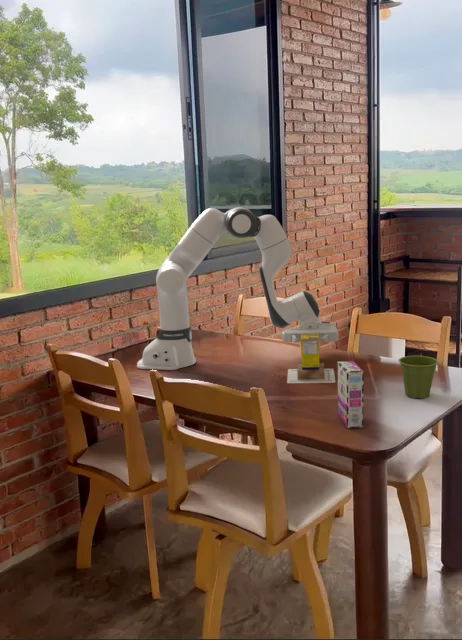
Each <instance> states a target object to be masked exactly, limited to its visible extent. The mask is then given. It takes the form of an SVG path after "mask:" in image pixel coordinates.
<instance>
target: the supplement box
mask: <svg viewBox="0 0 462 640" xmlns="http://www.w3.org/2000/svg"><path fill="white" fill-rule="evenodd" d="M300 343H301V344H300V346H301V364H302V369H319V363H320V342H319V338H318V334H313V335H301V342H300Z"/></svg>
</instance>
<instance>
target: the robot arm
mask: <svg viewBox="0 0 462 640" xmlns="http://www.w3.org/2000/svg"><path fill="white" fill-rule="evenodd" d="M227 233H229V234H230V235H231V236H232V237H234V238H236V239H246V238H247V239H248V238H254V240H255V242H256V244H257V245H258V248H259V250H260V252H261V257H262V258H261V262H260V264H259V266H258V269H259V271H258V272H259V275H260V281H261V286H262V289H263V292H264V298H265V301H266V305H267V311H268V317H269V320H270V322H271V324H272V325H273V326H274V327H276V328H278V329H284V328H285V329H284V330H282V332H281V341H282V342H283V343H294V344H299V343H301V335H313V334H318V338H319V343H320V342H321V343H326V342H338V341H339V330H338V327H336V326H334V322H333V321H332V322H330V321H321V318H320V317H319V316H320V308H319V306H318V305H319V304H318V303H317V300H316V299H315V297H314V295H313V294H311V293H310V292H307V291H305V290H303V291H300V292H297V293H296V294H294V295H293V294H292V296H289V297H287V298H285V299H282V300H278V298H277V295H276V290H275V288H274V287H275V285H274V282H273V280H274V277H275V276H276V274H277V273H278V272H279V271H280V270H281V269H282V268H284V266H285V265H286V264H287V263H288V262H289V260H290V258H291V255H292V246H291V244H290V241H289V238H288V236H287V234H286V232H285V230H284V228H283V227H282V225H281V223H280V221H279V220H278V219H277V217H276V216H275V215H273V214H263V215H261V216H257V215H256V214H254V213H253V212H252V211H251V210H250V209H248V208H247V207H244V206H235V207H232V208H230V209H228V210H226V211H224V212H222V211H220V210H219V209H217V208H215V207H209V208H206V209H205V210H204V211H202V213H201V214H200V215H198V216H197V218H196V219H195V220H194V221H193V222H192V223H191V225H190V226H189V228H188V229H187V230H186V232H185V233H184V235H182V237H181V239H180V240H179V241H178V243H177V244H176V245H175V247H174V248H173V249H172V250H171V252H170V253H169V254H168V256H167V257H166V258H165V260H164V261H163V262H162V264H161V265H160V267H159V268H158V271H157V273H156V276H155V282H156V293H157V301H158V311H159V314H158V315H159V325H160V326H157V328H156V330H155V334H154V335H155V337H156V338H155V339H153V340H152V341H151V342H150V343H148V344H147V346H145V348H144V349H143V351H142V358H141V359H139V360H138V361H137V364H136V367H137V369H140V370H141V369H143V370H165V371H168V370H169V371H175V370H178V369H180V368H181V369H182V368H186V367H189V366H193V365H194V364H195V363H197V360H196V358H195V357H196V356H195V355H194V350H193V346H192V336H193V335H192V328H191V326H190V315H189V314H190V313H189V301H188V300H189V299H188V298H189V297H188V286H187V285H188V284H187V281H188V279H189V278H190V276H191V275H192V274H193V272H194V271H195V270H196V269H197V267H198V266H199V265H200V264H201V263H202V262H203V261H204V259H205V258H206V256H207V255H208V254H209V253H210V251H211V249H212V248H213V247H214V245H215V244H216V243H217V241H218V240H219V239H220V238H221V236H222V235H225V234H227ZM298 321H299V322H298ZM296 322H298V327H297V328H293V327H292V328H286V327H288V326H290V325H291V324H293V323H296Z"/></svg>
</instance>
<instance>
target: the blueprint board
mask: <svg viewBox="0 0 462 640" xmlns="http://www.w3.org/2000/svg"><path fill="white" fill-rule="evenodd" d="M297 369H298V368H287V379H286V384H321V383H323V384H326V383H327V384H333V383H336V376H335V370H334V368H324V379H321V380H298V376H297Z"/></svg>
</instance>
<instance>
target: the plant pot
mask: <svg viewBox="0 0 462 640" xmlns="http://www.w3.org/2000/svg"><path fill="white" fill-rule="evenodd" d="M398 363H399V364H400V368H401V371H402V377H403V386H404V394H405V396H406V397H408V398H411V399H418V398H419V399H426V398H428V397H430V394H431V390H432V385H433V380H434V374H435V371H436V368H437V365H438V364H439V360H438V359H436V358H434V357H430V356H425V355H408V356H402V357H400V358H399V359H398Z"/></svg>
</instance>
